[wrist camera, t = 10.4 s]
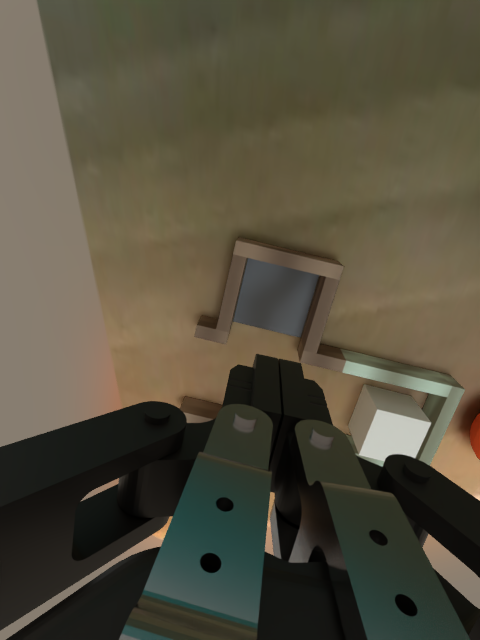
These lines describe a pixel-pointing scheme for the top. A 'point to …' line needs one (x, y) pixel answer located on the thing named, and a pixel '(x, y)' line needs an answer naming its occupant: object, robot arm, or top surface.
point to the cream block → (387, 424)
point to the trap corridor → (312, 330)
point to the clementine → (475, 435)
